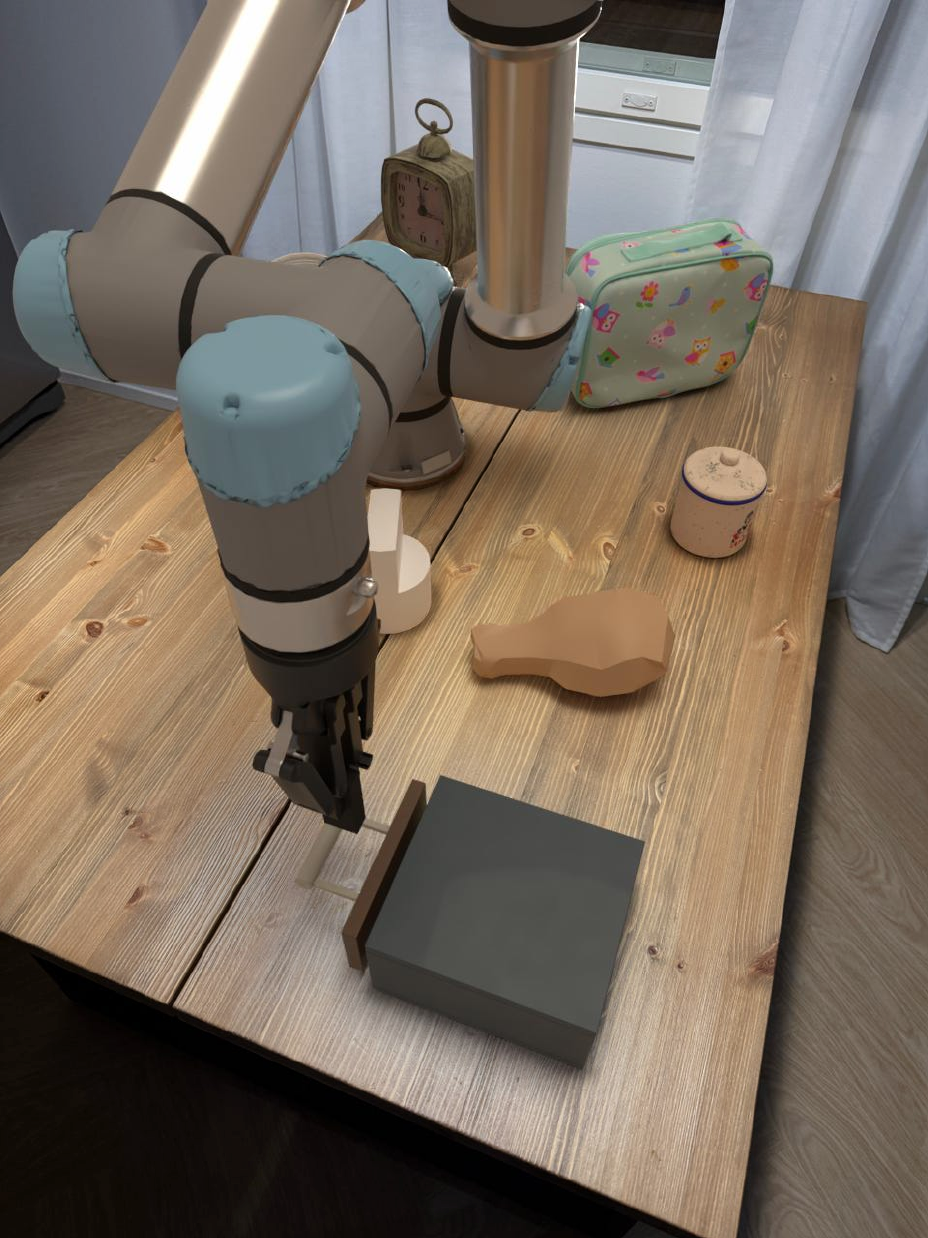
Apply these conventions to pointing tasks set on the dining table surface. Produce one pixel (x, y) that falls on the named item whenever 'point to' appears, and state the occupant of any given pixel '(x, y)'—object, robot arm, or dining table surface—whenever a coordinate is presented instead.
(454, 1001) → the cabinet
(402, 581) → the cylinder with rectangular tab
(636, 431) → the dining table surface
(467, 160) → the tabletop clock
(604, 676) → the squash
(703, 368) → the lunch box
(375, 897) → the drawer
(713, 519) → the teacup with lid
